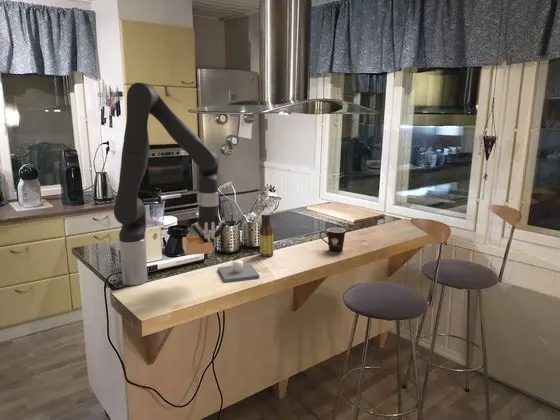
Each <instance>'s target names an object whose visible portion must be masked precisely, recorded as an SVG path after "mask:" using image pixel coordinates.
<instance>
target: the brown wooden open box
mask: <svg viewBox="0 0 560 420" xmlns="http://www.w3.org/2000/svg"><path fill="white" fill-rule="evenodd" d="M207 239H208V242H204V239H203V238H200V237H199V236H198V235H197V236H196V235H195V236H194V235H193V236H183V237H182V249H183V251H184V254H185V256H193V255H204V254H207V255H208V254H213V253H214V249H213V248H214V247H213V242H212V241H211V240H210V235H207Z"/></svg>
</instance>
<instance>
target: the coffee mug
mask: <svg viewBox="0 0 560 420" xmlns="http://www.w3.org/2000/svg"><path fill="white" fill-rule="evenodd" d="M322 234H326V236H327V240H325V239H323V237H322V236H321V235H322ZM345 236H346V229H345V228H342V227H341V228H340V227H329V228H327V232H326V231H324V230H323V231H320V233H319V237H320V239H321V240H322V241H323V242H325V244H327V245H328V251H329V252H331V253H342V252H343V250H344V249H343V248H344V243H345Z"/></svg>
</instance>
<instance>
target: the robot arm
mask: <svg viewBox="0 0 560 420" xmlns="http://www.w3.org/2000/svg"><path fill="white" fill-rule="evenodd" d="M150 115H151V116H152V117H154V118H155V119H156V120H157V121H158V122H159V123H160V124H161V125H162V127H163V128H164V129H165V131H166V132H167V134H168V135H169V136H170V137H171V139H172V140H173V141H174V142H175V143H176V144H178V146H180V148H181V149H182V150H183V151H185V152H186V153H187V154H188V156H189V157H190V158H191V159H192V161H193V162H194V163H195V165H197V167H199V168H200V170H199V171H200V172H199V175H200V176H199V179H198V197H197V199H198V200H197V205H198V207H197V208H198V209H197V210H198V218H197V220H196V222H195V223H191V228H192V229H193V230H194V231H195V233H196V234H197V236H199V237H200V238H203V239H204V242H208V239H207V236H208V233H209V238H210V240H211V241H212V242H213V248H214V247H215V238H219V236H220V235H221V234H222V232H223V230H224V229H225V227H226V222H225V221H221V219H220V216H219V215H220V214H219V212H220V211H219V209H220V208H219V207H220V206H219V205H220V204H219V201H220V200H219V189H218V187H219V185H218V184H219V182H218V174H219V156H218V154H217V153H216V151H214V150H213V149H208V148H207V146H206V145H205V144H203V143H202V141H201V138H200V137H199V136H198V135H197V134H196V133H195V132H194V130H192V129H191V128H190V127H189V126H188V125H187V124H186V123H185V122H184V121H183V120H182V119H181V118H179V117H178V116H177V114H176V113H174V112H173V111H172V109H171V108H170V107H169V105H167V103H166V102H165V100H164V99H163V98H162V96H161V95H160V94H159V92H158V91H157V90H156V88H155V87H154V86H153V85H151V84H149V83H147V82H146V83H145V82H135V83H132V84H131V85H130V86H129V88H128V90H127V92H126V120H125V122H126V123H125V129H124V134H123V135H124V136H123V143H122V149H121V150H122V151H121V159H120V160H121V161H120V169H119V179H118V188H117V194H116V198H115V201H114V206H113V215H114V218H115V220H116V221H117V222H118V223H120V224H121V229H120V231H119V233H118V239H119V250H120V251H119V253H120V267H121V279H122V285H123V286H131V287H132V286H139V285H143V284H145V283H147V282H148V280H149V279H148V277H149V276H148V266H147V253H146V238H145V237H146V235H145V234H146V229H147V226H146V225H147V216H146V213H147V212H146V207H145V204H144V202H143V201H142V199H141V198H139V190H140V186H141V183H142V181H143V178H144V176H145V174H146V170H147V168H148V163H149V156H150V140H149V132H148V131H149V130H148V122H149V116H150ZM217 226H218V228H217ZM199 227H200V228H201V229H202V233H201V231H200V230H199ZM216 228H217V230H215V229H216Z"/></svg>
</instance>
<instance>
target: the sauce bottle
mask: <svg viewBox="0 0 560 420" xmlns="http://www.w3.org/2000/svg"><path fill="white" fill-rule="evenodd" d="M260 215H261V225H260V229H259V252H260V255H261V256H262V257H265V258H269V257H272V256H273V255H274V252H275V251H274V228H273V226H272V224H271V213H269V212H263V213H261V214H260Z"/></svg>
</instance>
